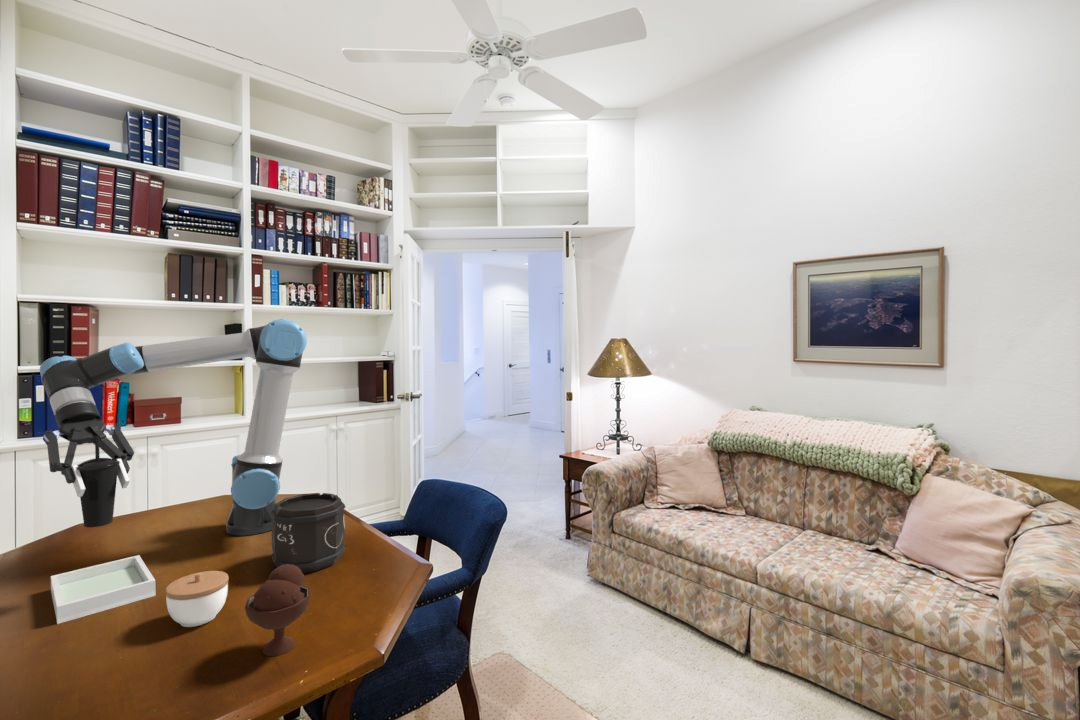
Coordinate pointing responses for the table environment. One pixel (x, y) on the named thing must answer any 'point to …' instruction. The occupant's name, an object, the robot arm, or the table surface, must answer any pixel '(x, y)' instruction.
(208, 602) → the lidded jar
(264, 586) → the ice cream bowl
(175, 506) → the table surface
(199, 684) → the table surface
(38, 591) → the table surface
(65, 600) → the tray
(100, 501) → the drinking cup
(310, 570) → the labeled octagonal canister
